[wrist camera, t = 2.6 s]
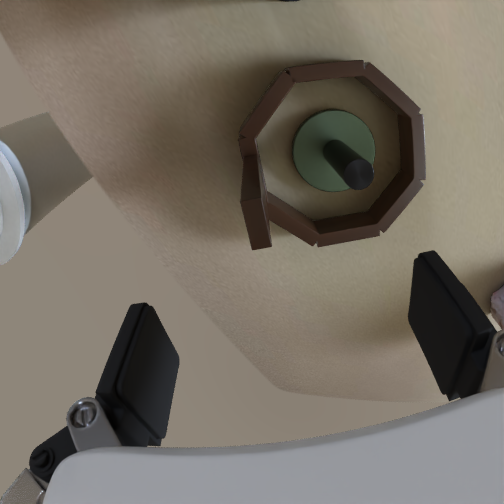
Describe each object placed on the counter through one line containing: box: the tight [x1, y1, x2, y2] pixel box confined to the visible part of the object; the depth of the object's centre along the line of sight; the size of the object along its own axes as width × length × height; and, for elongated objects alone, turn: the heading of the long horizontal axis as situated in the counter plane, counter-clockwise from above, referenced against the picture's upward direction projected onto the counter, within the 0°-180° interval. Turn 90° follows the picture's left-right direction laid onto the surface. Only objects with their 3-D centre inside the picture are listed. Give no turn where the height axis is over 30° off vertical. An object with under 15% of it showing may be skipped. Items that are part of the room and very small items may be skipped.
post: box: [292, 109, 375, 192], centre depth 25 cm, size 8×8×8 cm
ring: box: [238, 60, 426, 250], centre depth 23 cm, size 17×17×13 cm
